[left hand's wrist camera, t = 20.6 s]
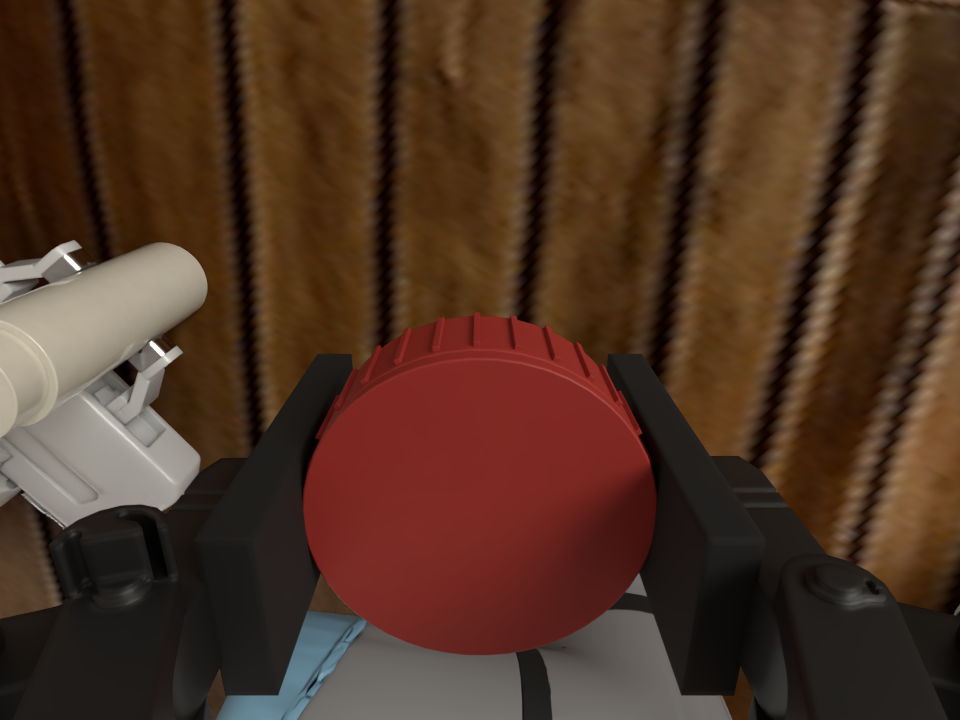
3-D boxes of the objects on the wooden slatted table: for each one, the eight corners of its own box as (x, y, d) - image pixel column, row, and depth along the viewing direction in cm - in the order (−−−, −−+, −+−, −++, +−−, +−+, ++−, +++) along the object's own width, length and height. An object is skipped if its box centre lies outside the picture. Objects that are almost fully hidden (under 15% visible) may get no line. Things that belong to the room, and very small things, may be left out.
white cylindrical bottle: (139, 229, 37) (-104, 311, 22) (217, 262, 38) (36, 365, 22) (120, 299, 39) (-118, 422, 23) (196, 330, 39) (13, 469, 24)
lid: (368, 596, 13) (349, 680, 11) (287, 340, 11) (247, 389, 9) (644, 556, 13) (673, 635, 11) (617, 283, 11) (647, 321, 9)
